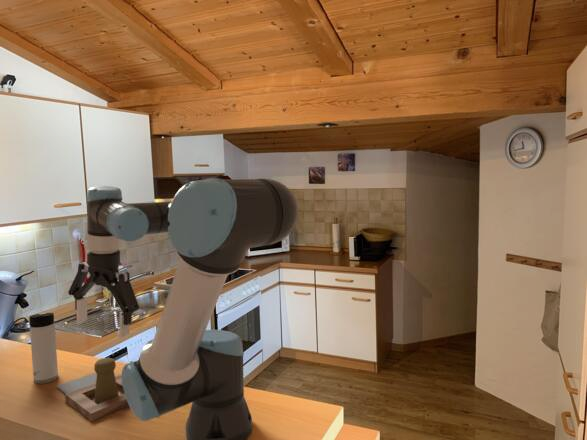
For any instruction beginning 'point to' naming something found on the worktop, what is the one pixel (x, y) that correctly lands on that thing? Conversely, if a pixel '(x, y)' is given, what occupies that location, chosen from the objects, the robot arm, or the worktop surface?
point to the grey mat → (78, 383)
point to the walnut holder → (91, 409)
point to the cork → (105, 380)
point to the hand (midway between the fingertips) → (102, 328)
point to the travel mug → (43, 348)
